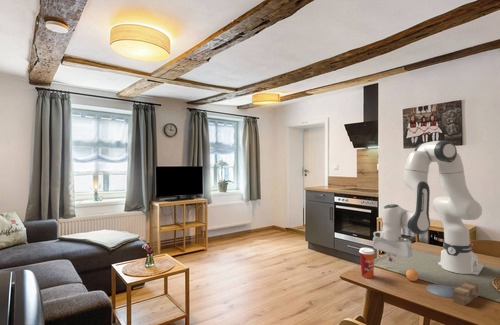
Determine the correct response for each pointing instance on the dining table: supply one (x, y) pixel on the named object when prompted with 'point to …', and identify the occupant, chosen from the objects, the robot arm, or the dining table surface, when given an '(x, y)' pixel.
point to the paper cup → (367, 262)
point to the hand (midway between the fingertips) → (391, 261)
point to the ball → (412, 275)
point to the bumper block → (465, 293)
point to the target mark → (441, 290)
